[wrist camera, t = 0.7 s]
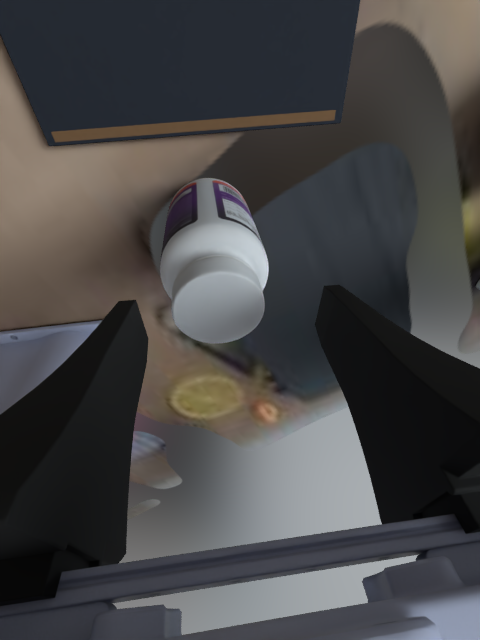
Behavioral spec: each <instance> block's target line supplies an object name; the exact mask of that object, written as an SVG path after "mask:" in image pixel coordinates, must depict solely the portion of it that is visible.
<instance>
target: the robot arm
mask: <svg viewBox="0 0 480 640" xmlns="http://www.w3.org/2000/svg"><path fill="white" fill-rule="evenodd" d="M315 326H316V329H317V333H318V336H319V339H320V343H321V346H322V348H323V350H324V353H325V355H326V357H327V359H328V361H329V363H330V366H331V368H332V370H333V372H334V374H335V376H336V378H337V381H338V383H339V385H340V387H341V389H342V391H343V394H344V396H345V398H346V401H347V403H348V406H349V409H350V412H351V415H352V417H353V421H354V423H355V427H356V430H357V433H358V436H359V440H360V443H361V446H362V449H363V453H364V456H365V460H366V463H367V467H368V470H369V474H370V478H371V482H372V486H373V490H374V493H375V498H376V502H377V505H378V510H379V514H380V519H381V522H382V525H376V526H368V527H362V528H355V529H349V530H341V531H335V532H328V533H321V534H314V535H308V536H301V537H294V538H288V539H281V540H274V541H267V542H261V543H254V544H247V545H240V546H234V547H227V548H220V549H213V550H207V551H200V552H193V553H187V554H180V555H173V556H166V557H159V558H153V559H146V560H139V561H132V562H126V563H119V561H121V560H122V558H123V557H124V555H125V554H126V536H127V535H126V534H127V509H128V492H129V476H130V464H131V451H132V441H133V431H134V423H135V417H136V411H137V407H138V402H139V397H140V392H141V388H142V383H143V378H144V373H145V368H146V363H147V351H148V336H147V333H146V330H145V327H144V324H143V321H142V318H141V314H140V311H139V308H138V305H137V302H136V300H128V301H119V302H118V303H117V304H116V305H115V306H114V308H113V309H112V310H111V311H110V312H109V313H108V315H107V316H106V317H105V318H104V319H103V320H99V321H91V322H82V323H73V324H64V325H55V326H47V327H38V328H29V329H20V330H12V331H3V332H0V640H480V369H479V368H477V367H475V366H473V365H470V364H468V363H466V362H464V361H461V360H459V359H457V358H455V357H453V356H451V355H449V354H446V353H445V352H443V351H441V350H439V349H437V348H435V347H433V346H431V345H430V344H428V343H426V342H424V341H422V340H420V339H419V338H417V337H415V336H413V335H412V334H410V333H408V332H407V331H405V330H404V329H402V328H401V327H399V326H397V325H396V324H394V323H393V322H391V321H390V320H388V319H387V318H385V317H384V316H382V315H381V314H379V313H378V312H377V311H375V310H374V309H372V308H371V307H370V306H368V305H367V304H366V303H364V302H363V301H361V300H360V299H359V298H357V297H356V296H355V295H353V294H352V293H350V292H349V291H348V290H346V289H345V288H343V287H342V286H340V285H331V286H324V289H323V293H322V297H321V301H320V306H319V310H318V314H317V318H316V322H315ZM412 555H418V556H417V558H416V561H415V562H410V563H406V564H401V565H396V566H392V567H387V568H385V569H384V571H382V572H380V573H377V574H375V575H372V576H369V577H366V578H364V579H363V581H362V583H363V586H364V589H365V592H366V595H367V598H368V603H365V604H359V605H353V606H347V607H341V608H336V609H330V610H324V611H318V612H312V613H306V614H300V615H294V616H289V617H283V618H277V619H272V620H266V621H260V622H255V623H248V624H243V625H237V626H231V627H226V628H220V629H214V630H209V631H204V632H197V633H192V634H186V635H182V634H181V613H182V612H181V611H180V609H167V608H166V607H165V606H164V605H154V606H145V607H135V608H125V609H117V608H116V607H115V606H114V605H113V604H111V603H117V602H124V601H130V600H136V599H142V598H149V597H155V596H161V595H168V594H173V593H180V592H186V591H193V590H199V589H205V588H211V587H217V586H224V585H230V584H236V583H243V582H249V581H255V580H262V579H267V578H274V577H281V576H287V575H293V574H299V573H305V572H312V571H318V570H325V569H331V568H337V567H343V566H349V565H356V564H362V563H368V562H374V561H381V560H387V559H394V558H399V557H406V556H412ZM118 563H119V564H118Z"/></svg>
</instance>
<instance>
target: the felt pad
mask: <svg viewBox="0 0 480 640" xmlns="http://www.w3.org/2000/svg"><path fill="white" fill-rule="evenodd" d="M359 4H360V0H0V35H1V37H2V40H3V42H4V44H5V46H6V49H7V51H8V53H9V56H10V58H11V60H12V62H13V65H14V67H15V69H16V72H17V74H18V76H19V78H20V81H21V83H22V85H23V88H24V90H25V92H26V95H27V97H28V99H29V101H30V104H31V106H32V108H33V111H34V113H35V115H36V117H37V120H38V122H39V124H40V127H41V129H42V131H43V133H44V136H45V138H46V140H47V143H48V145H49V146H61V145H73V144H86V143H98V142H111V141H123V140H136V139H148V138H161V137H173V136H186V135H198V134H211V133H223V132H236V131H248V130H260V129H273V128H285V127H297V126H311V125H323V124H336V123H340V122H341V118H342V111H343V105H344V99H345V92H346V86H347V80H348V73H349V67H350V61H351V53H352V48H353V42H354V36H355V29H356V23H357V17H358V10H359Z"/></svg>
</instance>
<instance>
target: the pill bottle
mask: <svg viewBox="0 0 480 640" xmlns="http://www.w3.org/2000/svg"><path fill="white" fill-rule="evenodd" d="M268 269H269V268H268V259H267V255H266V252H265V249H264V246H263V244H262V241H261V239H260V236H259V234H258V231H257V229H256V226H255V223H254V221H253V218H252V216H251V213H250V211H249V209H248V206H247V204H246V202H245V200H244V198H243V197H242V195H241V194H240V193H239V192H238V191H237V189H235V188H234V187H233V186H231V185H230V184H228V183H227V182H224V181H222V180H218V179H214V178H202V179H197V180H194V181H192V182H189V183H188V184H186V185H184V186H183V187H182V188H181V189H180V190H179V191H178V192H177V193H176V194H175V196H174V197H173V199H172V201H171V204H170V207H169V210H168V215H167V222H166V229H165V235H164V241H163V248H162V254H161V263H160V275H161V281H162V284H163V287H164V289H165V291H166V293H167V294H168V296H169V297H170V298H171V300H172V308H171V310H172V316H173V320H174V322H175V324H176V325H177V327H178V328H179V329H180V330H181V331H182V332H183V333H184V334H186V335H187V336H189V337H190V338H192V339H195V340H197V341H201V342H205V343H226V342H231V341H234V340H237V339H240V338H242V337H244V336H245V335H247V334H248V333H250V332H251V331H252V330H253V329H254V328H255V327H256V326H257V325H258V324H259V322H260V321H261V319H262V317H263V314H264V309H265V300H264V296H263V292H262V291H263V289H264V287H265V285H266V282H267V278H268Z"/></svg>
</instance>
